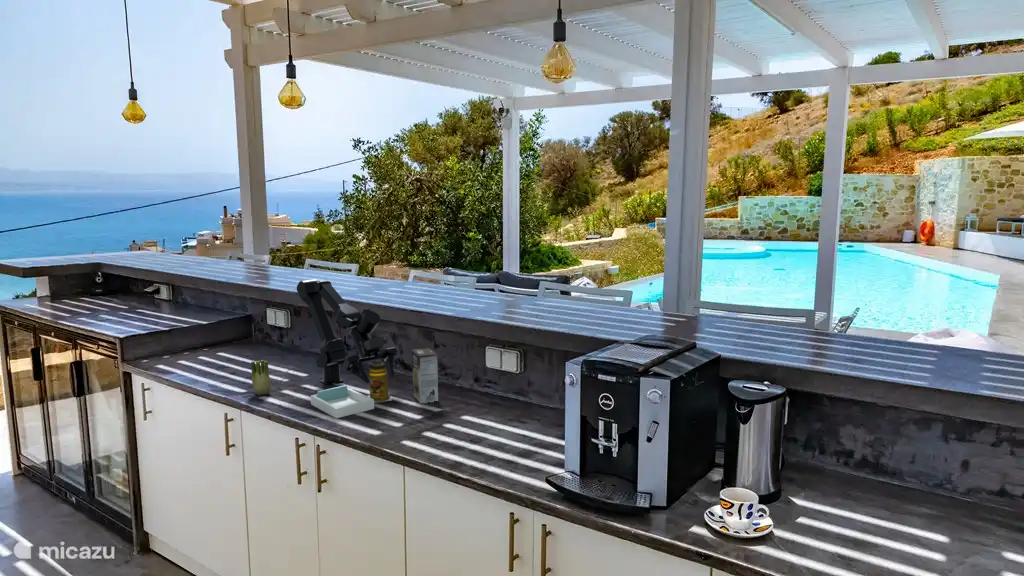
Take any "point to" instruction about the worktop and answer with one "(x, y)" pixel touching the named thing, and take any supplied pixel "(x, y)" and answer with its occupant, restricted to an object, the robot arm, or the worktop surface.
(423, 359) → the coffee box
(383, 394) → the condiment
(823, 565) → the worktop surface
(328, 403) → the pale mint tray
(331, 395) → the plate
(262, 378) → the fennel bulb
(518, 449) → the worktop surface
